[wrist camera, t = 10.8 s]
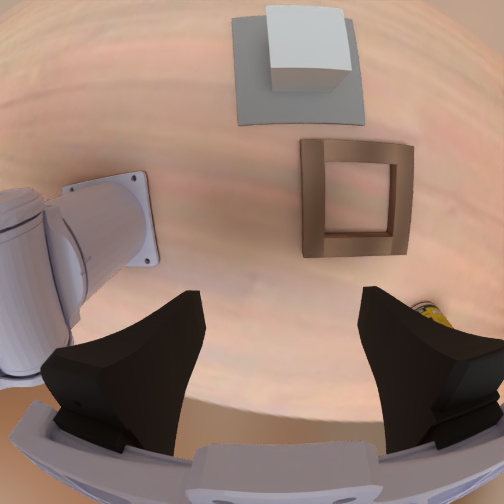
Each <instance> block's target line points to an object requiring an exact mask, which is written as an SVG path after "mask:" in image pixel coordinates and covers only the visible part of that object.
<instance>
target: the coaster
mask: <svg viewBox="0 0 504 504" xmlns="http://www.w3.org/2000/svg"><path fill="white" fill-rule="evenodd" d="M344 20H345V26H346V31H347V38H348V44H349V51H350V59H351V67H352V71H351V72H350V73H349V74H348V75H347V76H346V77H345V78H344V79H343V80H342V81H341V82H340V83H339V84H338V85H337V86H336V87H335V88H334V89H333V90H332V91H331V92H330V93H322V92H272V81H271V67H270V54H269V41H268V28H267V16H251V17H240V18H232V32H233V50H234V66H235V83H236V99H237V115H238V125H239V126H245V125H261V124H290V123H317V124H345V125H361V126H363V125H365V114H364V101H363V90H362V80H361V71H360V64H359V56H358V50H357V43H356V38H355V32H354V27H353V21H352V19H345V18H344Z"/></svg>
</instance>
